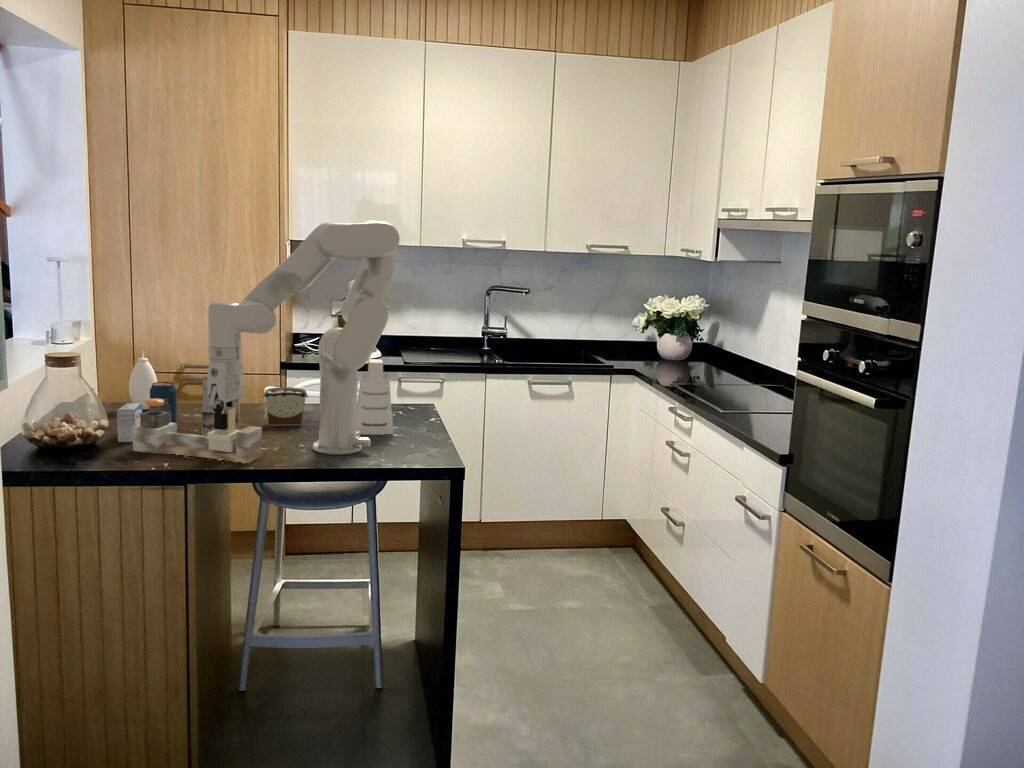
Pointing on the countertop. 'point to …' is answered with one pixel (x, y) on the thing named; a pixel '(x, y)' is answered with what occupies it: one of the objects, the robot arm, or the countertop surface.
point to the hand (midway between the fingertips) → (224, 426)
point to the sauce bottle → (141, 381)
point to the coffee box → (209, 415)
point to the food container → (285, 406)
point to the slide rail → (191, 440)
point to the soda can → (166, 398)
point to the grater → (374, 401)
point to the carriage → (224, 434)
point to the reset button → (154, 405)
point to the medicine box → (128, 420)
